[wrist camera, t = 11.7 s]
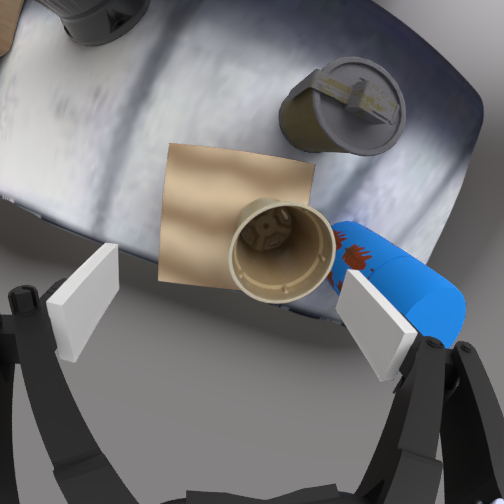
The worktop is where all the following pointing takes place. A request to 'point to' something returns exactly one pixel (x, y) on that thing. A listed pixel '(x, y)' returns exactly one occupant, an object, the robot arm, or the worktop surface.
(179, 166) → the footstool
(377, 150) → the canister
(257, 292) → the flower pot
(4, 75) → the worktop surface
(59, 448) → the robot arm
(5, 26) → the block
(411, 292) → the thermos
